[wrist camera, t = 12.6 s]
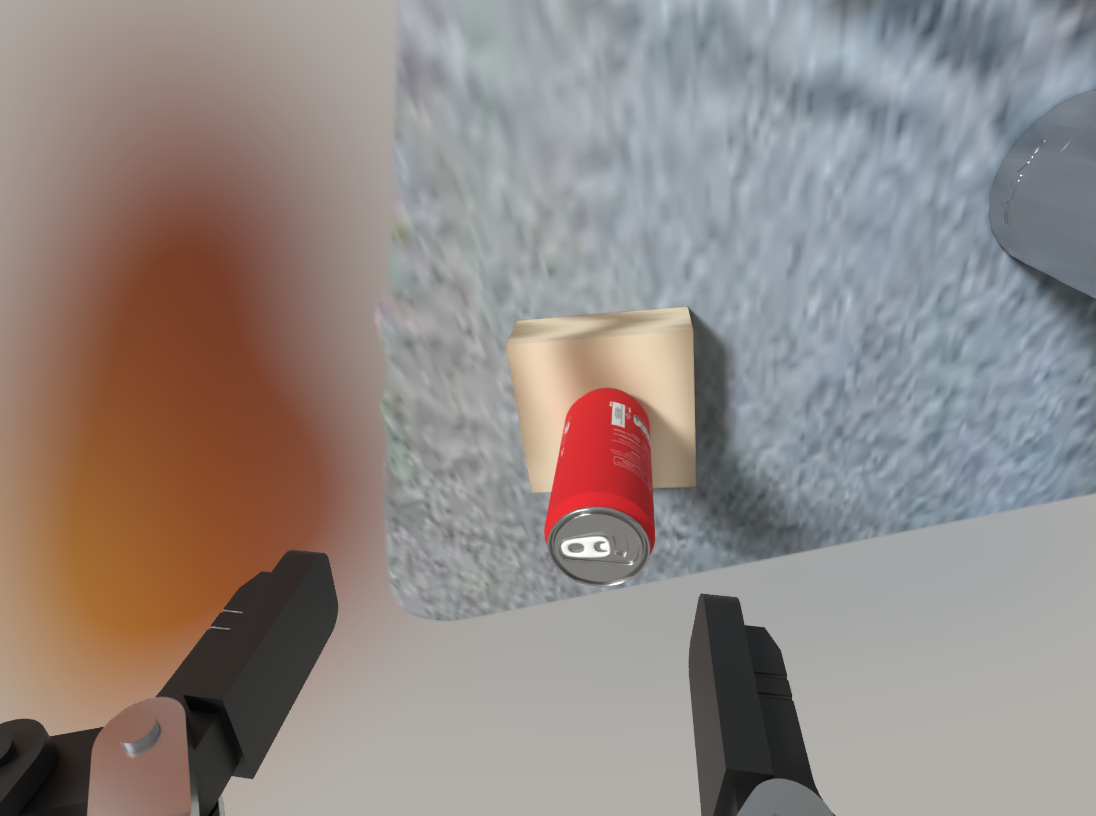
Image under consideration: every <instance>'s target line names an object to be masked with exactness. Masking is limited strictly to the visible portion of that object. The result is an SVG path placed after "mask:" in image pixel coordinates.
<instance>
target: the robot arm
mask: <svg viewBox="0 0 1096 816" xmlns="http://www.w3.org/2000/svg"><path fill="white" fill-rule="evenodd" d="M989 217H990V222H991V227H992V231H993V233H994V235H995V236H996V238H997V240H998V242H999V244H1000V245H1001V246H1002V247H1003V248H1004V249H1005V250H1006V251H1007V252H1008V253H1009V254H1010V255H1011V256H1013V257H1015V258H1016V259H1018V260H1020V261H1022V262H1023V263H1025V264H1027V265H1029V266H1031V267H1033V268H1035V269H1037V270H1039V271H1041V272H1043V273H1045V274H1048V275H1050V276H1052V277H1054V278H1056V279H1057V280H1059V281H1061V282H1063V283H1065V284H1067V285H1069V286H1071V287H1073V288H1075V289H1077V290H1079V291H1081V292H1083V293H1085V294H1087V295H1089V296H1091V297H1093V298H1095V299H1096V89H1094V90H1091V91H1088V92H1085V93H1083V94H1080V95H1077V96H1075V97H1073V98H1071V99H1069V100H1067V101H1065V102H1064V103H1062V104H1060V105H1058V106H1056V107H1054V108H1053V109H1052V110H1050V111H1049V112H1048V113H1046V114H1045V115H1044V116H1042V117H1041V118H1040V119H1038V120H1037V121H1036V122H1035V123H1034V124H1033V125H1032V126H1031V127H1030V128H1029V129H1028V130H1027V131H1026V132H1025V133H1024V134H1023V135H1022V136H1021V137H1020V138H1019V139H1018V140H1017V141H1016V143H1015V144H1014V145H1013V147H1012V148H1011V150H1010V151H1009V152H1008V154H1007V155H1006V157H1005V158H1004V160H1003V162H1002V164H1001V166H1000V168H999V170H998V172H997V174H996V176H995V179H994V183H993V186H992V190H991V194H990V203H989ZM337 614H338V601H337V596H336V591H335V586H334V582H333V577H332V572H331V567H330V563H329V559H328V556H327V555H326V554H325V553H317V552H308V551H298V550H289V551H287V552H286V553H285V554H284V556H283V557H282V558H281V560H280V561H279V562H278V564H277V565H276V567H275V568H274V569H273V571H272V572H271V573H270V572H260V573H259V574H258V575H256V576H255V577H254V578H252V579H251V580H250V581H248V582H247V583H245V584H244V585H243V586H241V587H240V588H239V589H238V591H237V592H236V593H235V594H234V596H233V597H232V598H231V600H230V601H229V602H228V603H227V605H226V606H225V607H224V611H223V613H220V614H219V615H218V617H217V618H216V619H215V621H214V622H213V623H212V624H211V628H210V630H209V629H208V630H207V631H206V632H205V634H204V635H203V636H202V638H201V639H200V640H199V641H198V643H197V644H196V645H195V647H194V648H193V650H192V651H191V652H190V653H189V655H188V656H187V657H186V659H185V660H184V661H183V662H182V664H181V665H180V666H179V668H178V669H177V670H176V672H175V673H174V674H173V676H172V677H171V678H170V679H169V681H168V682H167V683H166V685H165V686H164V687H163V689H162V690H161V691H160V692H159V693H158V695H157V696H156V697H154V698H149V699H146V700H143V701H140V702H137V703H135V704H133V705H131V706H129V707H127V708H126V709H124V710H123V711H121V712H120V713H118V714H117V715H116V716H115V717H114V718H112V719H111V720H110V721H109V722H108V723H107V724H106V725H105V726H104V727H100V728H95V729H90V730H84V731H78V732H73V733H67V734H61V735H56V736H49V735H48V733H47V731H46V730H45V728H44V727H43V725H42V724H40V723H39V722H38V721H35V720H31V719H17V720H12V721H8V722H4V723H2V724H0V816H225V811H224V802H223V797H222V795H221V794H222V792H223V790H224V788H225V787H226V785H227V783H228V781H229V780H230V778H231V776H235V777H242V778H249V779H253V778H254V776H255V774H256V773H257V771H258V769H259V767H260V765H261V763H262V761H263V760H264V758H265V756H266V754H267V752H268V750H269V748H270V747H271V745H272V743H273V741H274V739H275V737H276V735H277V734H278V731H279V730H280V728H281V726H282V724H283V722H284V721H285V719H286V717H287V715H288V713H289V711H290V709H291V708H292V706H293V704H294V702H295V700H296V698H297V696H298V695H299V693H300V691H301V689H302V687H303V685H304V683H305V681H306V680H307V678H308V676H309V674H310V672H311V670H312V669H313V667H314V665H315V663H316V661H317V659H318V657H319V655H320V654H321V652H322V650H323V648H324V646H325V644H326V643H327V641H328V639H329V637H330V635H331V633H332V631H333V629H334V626H335V623H336V619H337ZM689 679H690V691H691V702H692V713H693V725H694V735H695V747H696V757H697V769H698V780H699V791H700V803H701V814H702V816H835V815H834V814H833V813H832V812H831V810H830V809H829V808H828V806H827V805H826V804H825V802H824V801H823V799H822V798H821V796H820V795H819V792H818V790H817V788H816V786H815V783H814V780H813V777H812V773H811V769H810V765H809V761H808V757H807V753H806V749H805V745H804V741H803V737H802V733H801V729H800V725H799V721H798V717H797V713H796V709H795V705H794V702H793V701H792V693H791V690H790V685H789V681H788V680H787V673H786V669H785V665H784V661H783V657H782V653H781V650H780V649H779V647H778V646H777V644H776V643H775V642H774V640H773V639H772V637H771V636H770V634H769V633H768V632H767V630H766V629H765V628H764V627H756V626H747V625H744V620H743V615H742V610H741V606H740V602H739V599H738V598H737V597H728V596H719V595H709V594H700V596H699V600H698V605H697V611H696V615H695V621H694V626H693V631H692V636H691V641H690V649H689Z"/></svg>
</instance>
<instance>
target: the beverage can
mask: <svg viewBox="0 0 1096 816" xmlns="http://www.w3.org/2000/svg"><path fill="white" fill-rule="evenodd" d="M544 534H545V540H546V544H547V547H548V553H549V556H550V558H551V560H552V562H553V563H554V565H555V566H556V567H557V568H558V569H559V570H560V571H561V572H562V573H563V574H564V575H566V576H567V577H569V578H570V579H572V580H574V581H576V582H579V583H582V584H586V585H590V586H600V587H605V586H614V585H618V584H622V583H624V582H627V581H629V580H631V579H633V578H634V577H635V576H637V575H638V574H639V573H640V572H641V571H642V570H643V569H644V567H645V566H646V564H647V562H648V559H649V556H650V554H651V552H652V550H653V547H654V542H655V525H654V505H653V484H652V464H651V443H650V424H649V419H648V416H647V414H646V412H645V410H644V408H643V407H642V406H641V405H640V404H639V403H638V402H637V401H636V400H635V399H634V398H633V397H632V396H631V395H629V394H628V393H626V392H624V391H622V390H619V389H616V388H598V389H595V390H592V391H590V392H588V393H586V394H585V395H583V396H582V397H581V398H579V399H578V400H577V401H576V402H575V403H574V404H573V405H572V406H571V407H570V409H569V411H568V413H567V415H566V419H565V423H564V429H563V434H562V439H561V444H560V449H559V455H558V460H557V465H556V470H555V476H554V481H553V486H552V491H551V496H550V502H549V507H548V512H547V517H546V523H545V530H544Z"/></svg>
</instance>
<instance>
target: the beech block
mask: <svg viewBox="0 0 1096 816" xmlns="http://www.w3.org/2000/svg"><path fill="white" fill-rule="evenodd" d="M506 348H507V353H508V359H509V365H510V370H511V376H512V382H513V387H514V393H515V399H516V404H517V410H518V416H519V421H520V427H521V432H522V438H523V444H524V449H525V455H526V461H527V466H528V472H529V478H530V483H531V489H532V492H551V491H552V486H553V481H554V476H555V470H556V465H557V460H558V455H559V449H560V444H561V439H562V434H563V429H564V423H565V419H566V415H567V413H568V411H569V409H570V407H571V406H572V405H573V404H574V403H575V402H576V401H577V400H578V399H579V398H581V397H582V396H583V395H585V394H586V393H588V392H590V391H592V390H595V389H598V388H616V389H619V390H622V391H624V392H626V393H628V394H629V395H631V396H632V397H633V398H634V399H635V400H636V401H637V402H638V403H639V404H640V405H641V406H642V407H643V408H644V410H645V412H646V414H647V416H648V419H649V424H650V443H651V464H652V484H653V488H675V487H696V447H695V396H694V345H693V327H692V323H691V319H690V315H689V311H688V307H678V308H666V309H654V310H642V311H630V312H618V313H606V314H594V315H582V316H570V317H558V318H546V319H534V320H522V321H517V322H516V324H515V326H514V328H513V331H512V333H511V335H510V337H509V339H508V342H507V344H506Z"/></svg>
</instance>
